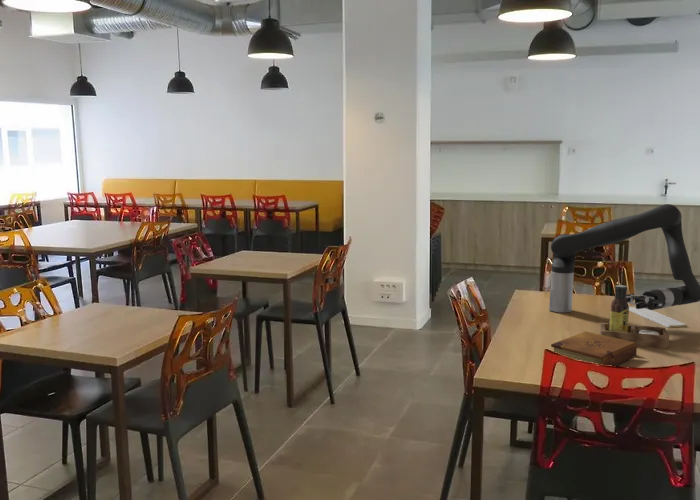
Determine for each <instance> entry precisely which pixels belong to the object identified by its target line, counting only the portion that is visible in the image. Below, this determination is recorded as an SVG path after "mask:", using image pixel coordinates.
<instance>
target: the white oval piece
mask: <svg viewBox="0 0 700 500" xmlns="http://www.w3.org/2000/svg"><path fill="white" fill-rule="evenodd" d="M639 333H642V334H654V335H659V333H658V332H656V331H651V330H641V331H639Z"/></svg>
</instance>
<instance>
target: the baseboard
mask: <svg viewBox="0 0 700 500" xmlns="http://www.w3.org/2000/svg"><path fill="white" fill-rule="evenodd" d="M629 313H633V314H635V315H637V316H639V315H640V317H642V318H644V319H646V320H648V319H649V320H648V321H651V322H653V321H654V323H655V322H656V323H655V324H658V323H659V324H658V325H660V324H661V325H660V326H662V325H663V326H662V327H664V326H665V327H664V328H668V327H674V328H687V327H688V324H686V323H683V322H682V321H679V320H676V319H675V318H671V317H669V316H668V315H664V314H662V313H659V312H657V311H655V310H648V309H645V308H642V309H636V306H629ZM668 329H669V328H668Z"/></svg>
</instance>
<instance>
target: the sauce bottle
mask: <svg viewBox="0 0 700 500" xmlns="http://www.w3.org/2000/svg"><path fill="white" fill-rule="evenodd" d="M614 290H615V292H614V299H613V300H612V301H611V303H610V312H609V323H610V326H609V331H617V332H628V325H629V315H630V314H629V313H630V311H629V307H630V305H629V303H627V300H626V295H627V291H628V286H626V285H622V284H620V285H619V284H617V285H615V286H614Z"/></svg>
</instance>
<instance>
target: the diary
mask: <svg viewBox="0 0 700 500" xmlns="http://www.w3.org/2000/svg"><path fill="white" fill-rule="evenodd" d="M550 346H551V348H553V353H554V352H557V353H559V354H561V355H565V356H568V357H571V358H574V359H577V360H582V361H587V362H593V363H598V364H603V365H612V366H615V367H617V366H620V365H621V364H623V363H625V362H627V361H629V359H630V360H631V359H634V358H635V356H637V351H638V350H637V349H638V346H637V345H636V343H635V342H631V341H627V340H622V339H618V338H613V337H609V336H604V335H600V333H596V332H595V333H594V332H591V331H590V332H589V331H584V332H581V333H578V334H576V335H573V336H569V337H567V338H564V339H562V340H559V341H557V342H554V343H551V344H550ZM616 365H617V366H616Z"/></svg>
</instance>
